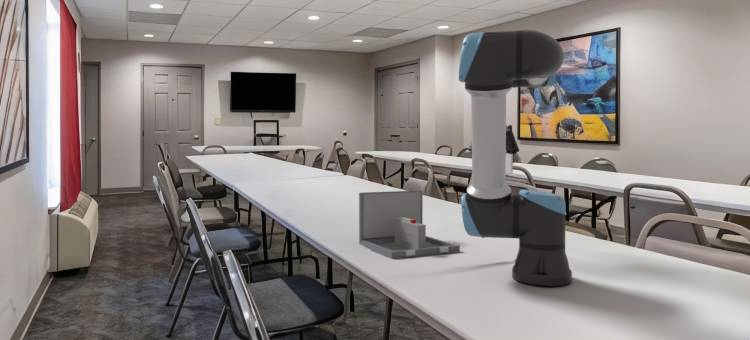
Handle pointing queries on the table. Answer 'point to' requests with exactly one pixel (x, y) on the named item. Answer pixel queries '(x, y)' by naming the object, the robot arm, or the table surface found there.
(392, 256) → the equipment case
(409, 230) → the cassette player
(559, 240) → the robot arm
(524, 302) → the table surface
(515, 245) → the table surface
